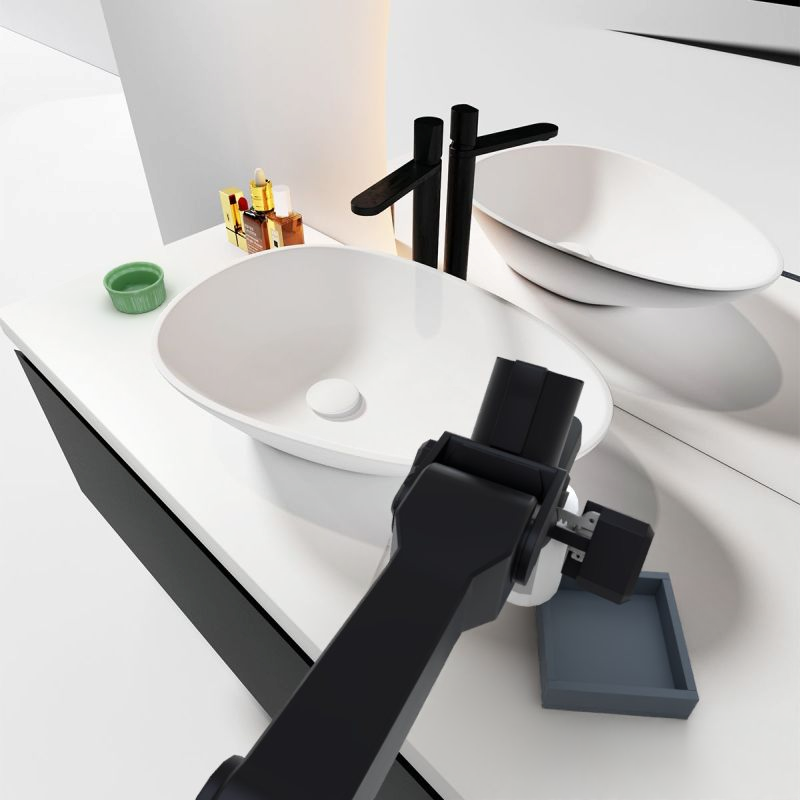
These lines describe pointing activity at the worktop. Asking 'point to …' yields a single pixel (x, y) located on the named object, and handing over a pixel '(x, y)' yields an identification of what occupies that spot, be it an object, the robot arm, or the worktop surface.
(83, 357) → the worktop surface
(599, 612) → the bin
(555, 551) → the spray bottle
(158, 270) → the ramekin
